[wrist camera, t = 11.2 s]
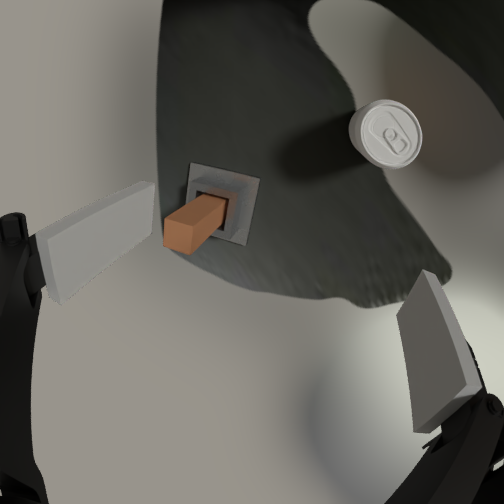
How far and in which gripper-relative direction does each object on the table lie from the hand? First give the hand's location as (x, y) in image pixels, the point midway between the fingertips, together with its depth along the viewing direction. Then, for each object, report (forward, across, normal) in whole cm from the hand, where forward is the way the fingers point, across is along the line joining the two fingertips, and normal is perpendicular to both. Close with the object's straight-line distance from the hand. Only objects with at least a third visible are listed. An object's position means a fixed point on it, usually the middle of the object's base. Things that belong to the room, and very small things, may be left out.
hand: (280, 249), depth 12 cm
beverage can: (+32, +7, +7) cm, 34 cm away
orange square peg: (+31, -13, -12) cm, 36 cm away
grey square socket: (+32, -13, -12) cm, 36 cm away
